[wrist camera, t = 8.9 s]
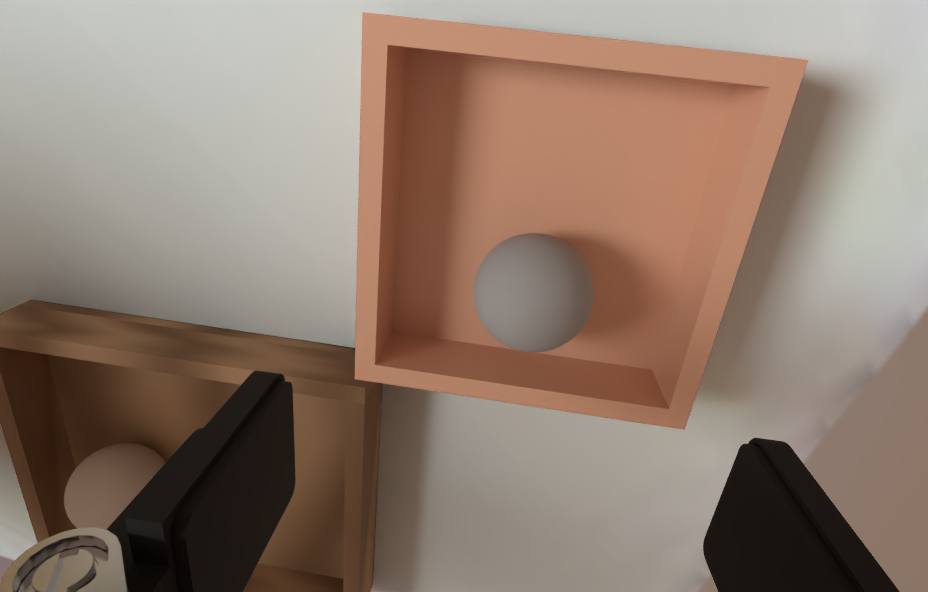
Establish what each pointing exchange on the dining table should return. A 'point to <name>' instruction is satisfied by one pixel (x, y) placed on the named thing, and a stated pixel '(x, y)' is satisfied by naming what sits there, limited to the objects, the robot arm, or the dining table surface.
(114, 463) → the beige ball
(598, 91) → the terracotta dish
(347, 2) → the dining table surface
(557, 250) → the grey ball
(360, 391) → the walnut tray
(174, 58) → the dining table surface
